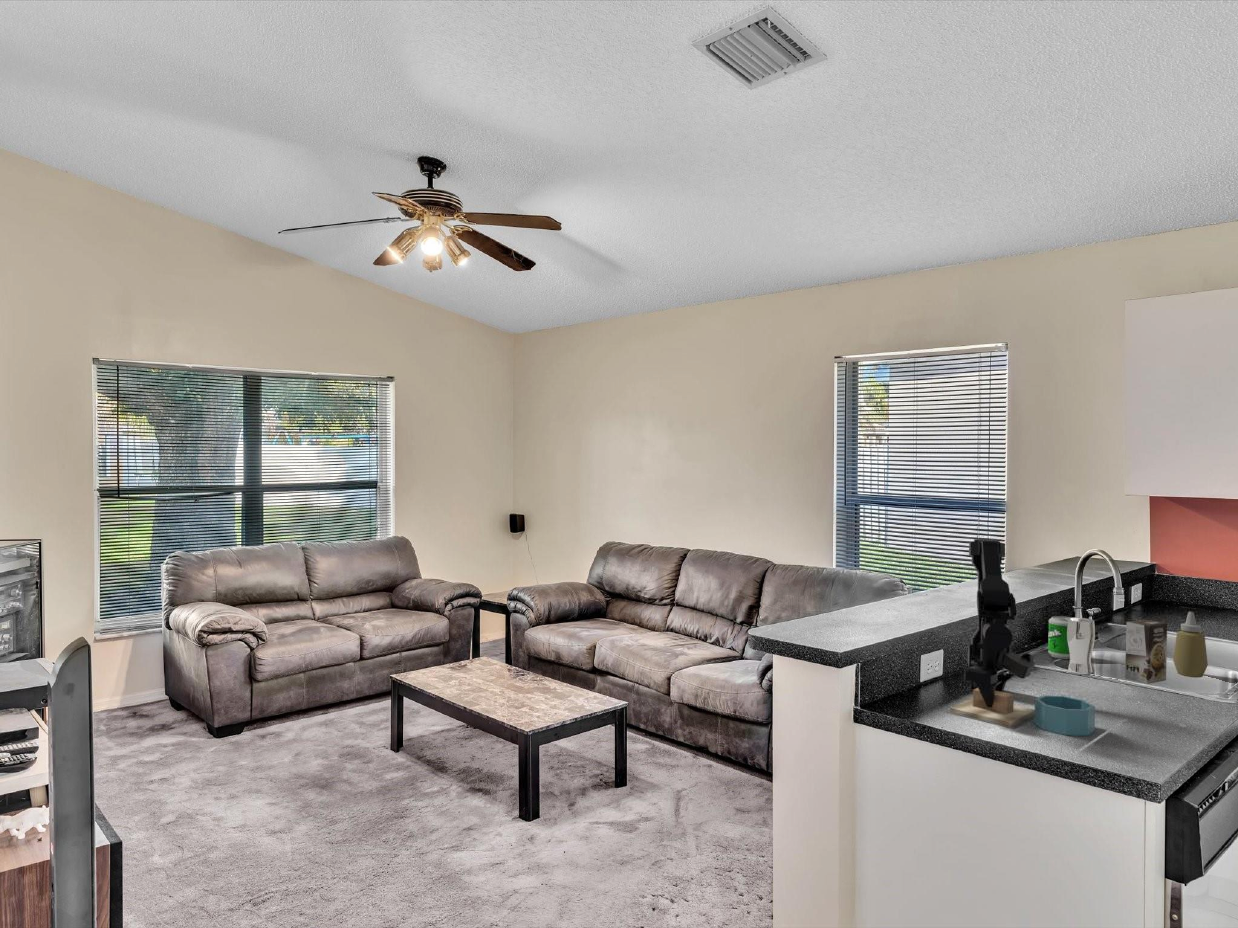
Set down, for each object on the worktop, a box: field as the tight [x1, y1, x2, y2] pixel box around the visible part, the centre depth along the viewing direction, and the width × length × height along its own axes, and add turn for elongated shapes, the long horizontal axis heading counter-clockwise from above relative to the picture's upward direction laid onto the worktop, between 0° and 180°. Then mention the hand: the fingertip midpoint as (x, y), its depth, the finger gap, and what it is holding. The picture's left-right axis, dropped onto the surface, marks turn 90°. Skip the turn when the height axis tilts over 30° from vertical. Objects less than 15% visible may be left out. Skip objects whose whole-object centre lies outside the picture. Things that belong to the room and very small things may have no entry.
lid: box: [950, 688, 1035, 727], centre depth 192 cm, size 14×14×5 cm
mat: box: [945, 708, 1035, 730], centre depth 192 cm, size 16×16×1 cm
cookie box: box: [1124, 619, 1168, 685], centre depth 225 cm, size 9×6×16 cm
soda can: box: [1047, 615, 1070, 660], centre depth 250 cm, size 8×8×12 cm
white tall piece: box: [1067, 616, 1096, 676], centre depth 232 cm, size 7×7×15 cm
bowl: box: [1034, 694, 1096, 737], centre depth 183 cm, size 11×11×6 cm
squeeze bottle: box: [1172, 611, 1209, 679], centre depth 230 cm, size 8×8×18 cm
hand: (993, 705), depth 192 cm, fingers closed on lid, 3 cm apart
